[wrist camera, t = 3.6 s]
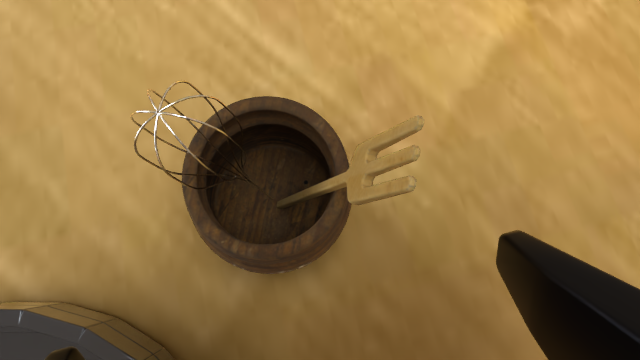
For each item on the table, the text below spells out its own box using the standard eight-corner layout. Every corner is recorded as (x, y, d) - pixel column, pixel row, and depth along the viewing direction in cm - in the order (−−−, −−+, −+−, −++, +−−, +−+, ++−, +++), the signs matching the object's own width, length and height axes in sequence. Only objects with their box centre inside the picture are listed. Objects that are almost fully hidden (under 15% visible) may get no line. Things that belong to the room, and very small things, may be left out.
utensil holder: (223, 131, 21) (130, -44, 9) (357, 155, 21) (438, 13, 9) (195, 259, 20) (46, 251, 8) (337, 283, 20) (400, 311, 8)
